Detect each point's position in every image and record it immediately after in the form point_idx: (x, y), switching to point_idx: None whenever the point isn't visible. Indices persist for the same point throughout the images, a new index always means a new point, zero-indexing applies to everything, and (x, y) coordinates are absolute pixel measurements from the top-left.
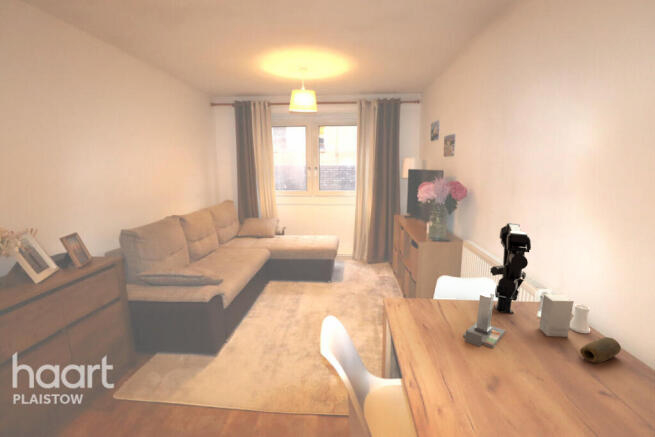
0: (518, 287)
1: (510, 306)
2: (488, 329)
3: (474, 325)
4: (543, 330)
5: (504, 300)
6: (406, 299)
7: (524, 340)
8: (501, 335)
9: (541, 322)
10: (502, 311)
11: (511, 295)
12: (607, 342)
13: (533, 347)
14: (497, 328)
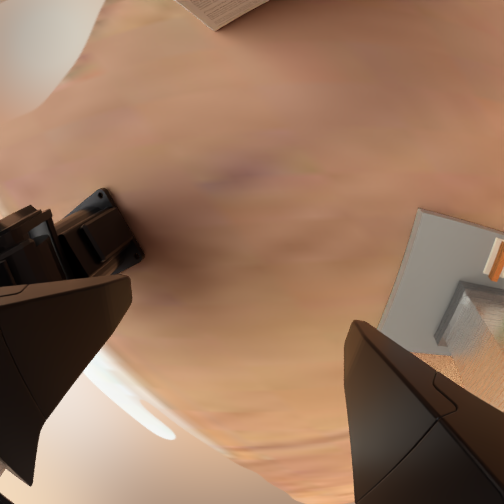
0: (34, 303)
1: (94, 219)
2: (490, 299)
3: (432, 348)
4: (257, 3)
5: (90, 272)
6: (291, 491)
7: (451, 108)
8: (486, 229)
9: (219, 7)
10: (134, 242)
11: (416, 367)
12: None
13: (494, 75)
14: (419, 253)
